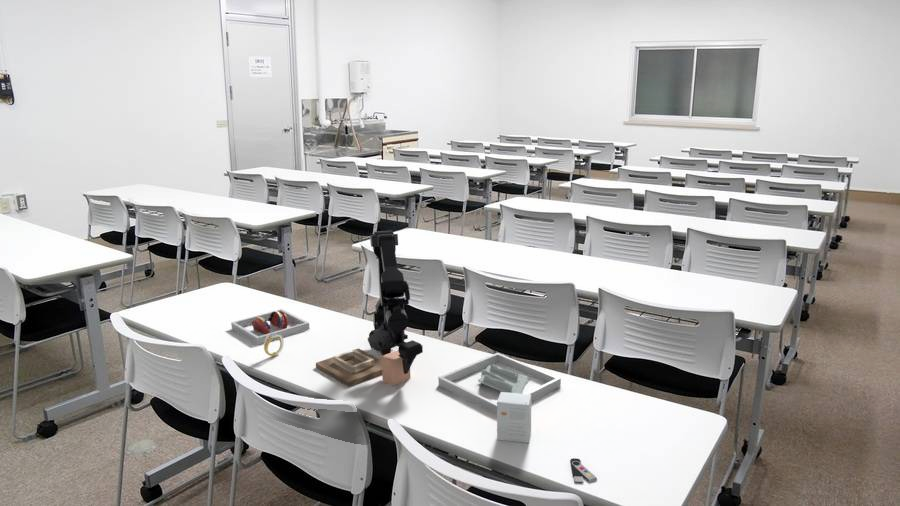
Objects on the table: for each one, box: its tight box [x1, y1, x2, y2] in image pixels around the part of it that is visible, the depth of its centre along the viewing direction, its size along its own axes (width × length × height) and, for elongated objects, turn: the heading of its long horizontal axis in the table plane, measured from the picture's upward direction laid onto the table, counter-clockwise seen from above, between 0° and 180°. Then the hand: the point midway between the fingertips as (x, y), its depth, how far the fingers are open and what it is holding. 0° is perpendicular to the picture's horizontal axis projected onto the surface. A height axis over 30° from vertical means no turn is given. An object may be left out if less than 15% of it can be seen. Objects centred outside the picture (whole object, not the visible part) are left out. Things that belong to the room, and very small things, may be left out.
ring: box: [263, 331, 285, 357], centre depth 208 cm, size 7×3×8 cm, turn 137°
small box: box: [496, 391, 532, 444], centre depth 160 cm, size 8×6×10 cm
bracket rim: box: [437, 352, 562, 415], centre depth 187 cm, size 25×25×2 cm
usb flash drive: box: [569, 457, 598, 483], centre depth 146 cm, size 9×5×1 cm, turn 175°
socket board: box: [315, 347, 382, 387], centre depth 199 cm, size 16×18×4 cm
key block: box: [381, 349, 411, 386], centre depth 191 cm, size 7×4×8 cm, turn 133°
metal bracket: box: [477, 363, 530, 394], centre depth 186 cm, size 14×6×15 cm
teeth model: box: [251, 310, 289, 335], centre depth 231 cm, size 8×6×12 cm
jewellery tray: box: [230, 308, 310, 346], centre depth 231 cm, size 20×20×2 cm
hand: (396, 368), depth 191 cm, fingers open, 9 cm apart
